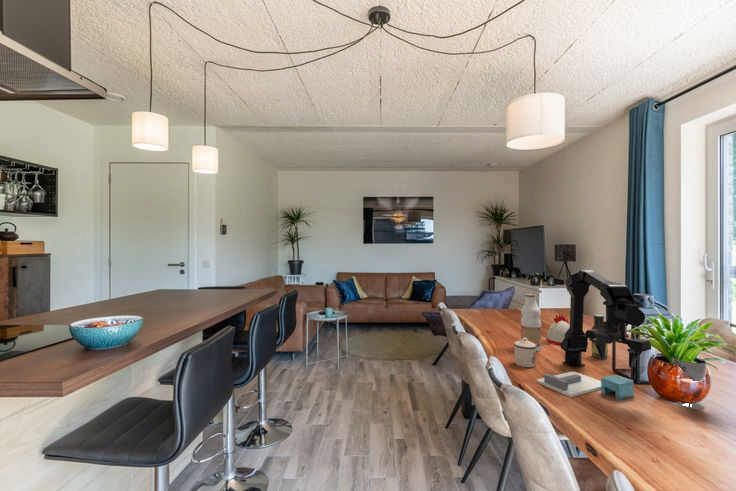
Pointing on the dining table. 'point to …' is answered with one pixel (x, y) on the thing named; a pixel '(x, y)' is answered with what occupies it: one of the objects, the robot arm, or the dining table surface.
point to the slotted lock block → (617, 386)
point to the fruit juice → (531, 321)
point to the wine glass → (692, 376)
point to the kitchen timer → (558, 330)
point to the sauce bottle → (597, 325)
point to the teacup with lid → (525, 353)
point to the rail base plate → (570, 383)
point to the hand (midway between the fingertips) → (616, 363)
